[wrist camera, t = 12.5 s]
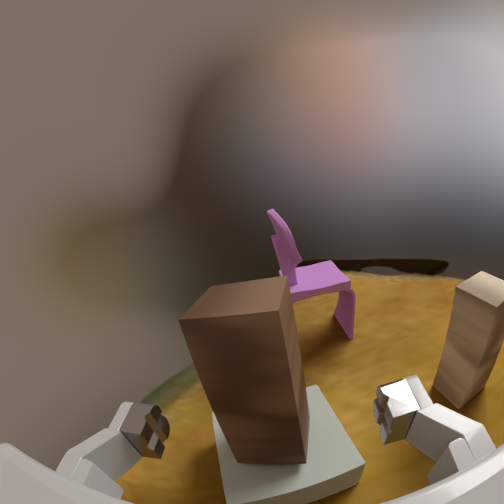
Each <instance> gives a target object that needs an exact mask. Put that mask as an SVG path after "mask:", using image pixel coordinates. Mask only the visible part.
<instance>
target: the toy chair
mask: <svg viewBox="0 0 504 504" xmlns="http://www.w3.org/2000/svg"><path fill="white" fill-rule="evenodd" d="M267 213H268V215H269V217H270V220H271V222H272V224H273V226H274V228H275V231H276V235H272V236H271V237H272V241H273V244H274V248H275V251H276V254H277V257H278V261H279V264H280V268H281V270H280V271H279V275H280V276H288V282H289V287H290V293H291V299H292V303H294V302H296V301H299V300H303V299H306V298H310V297H313V296H317V295H321V294H326V293H334V292H339V299H338V303H337V306H336V309H335V311H334V315H335V317H336V319H337V320H338V322H339V323H340V325H341V327H342V328H343V330H344V331H345V333H346V335H347V336H348V338H349V339H350V340H353V331H354V314H355V292H354V291H353V289H352V288H351V281H350V280H349V279H348V277H347V276H345V275H344V274H343V273H342V272H341V271H340V270H339V269H338V268H337V267H336V265H335V264H334V263H333V262H332V261H326V262H321V263H317V264H314V265H310V266H305V267H299V268H295V266H296V265H297V264H298V263H300V262H301V261H302V258H301V256H300V255H299V253H298V251H297V249H296V246H295V242H294V239H293V236H292V234H291V232H290V230H289V228H288V226H287V225H286V223H285V222H284V221H283V220H282V218H281V217H280V216H279V215H278V214H277V213H276V212H275V211H274V209H270V210H269V211H267Z"/></svg>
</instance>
